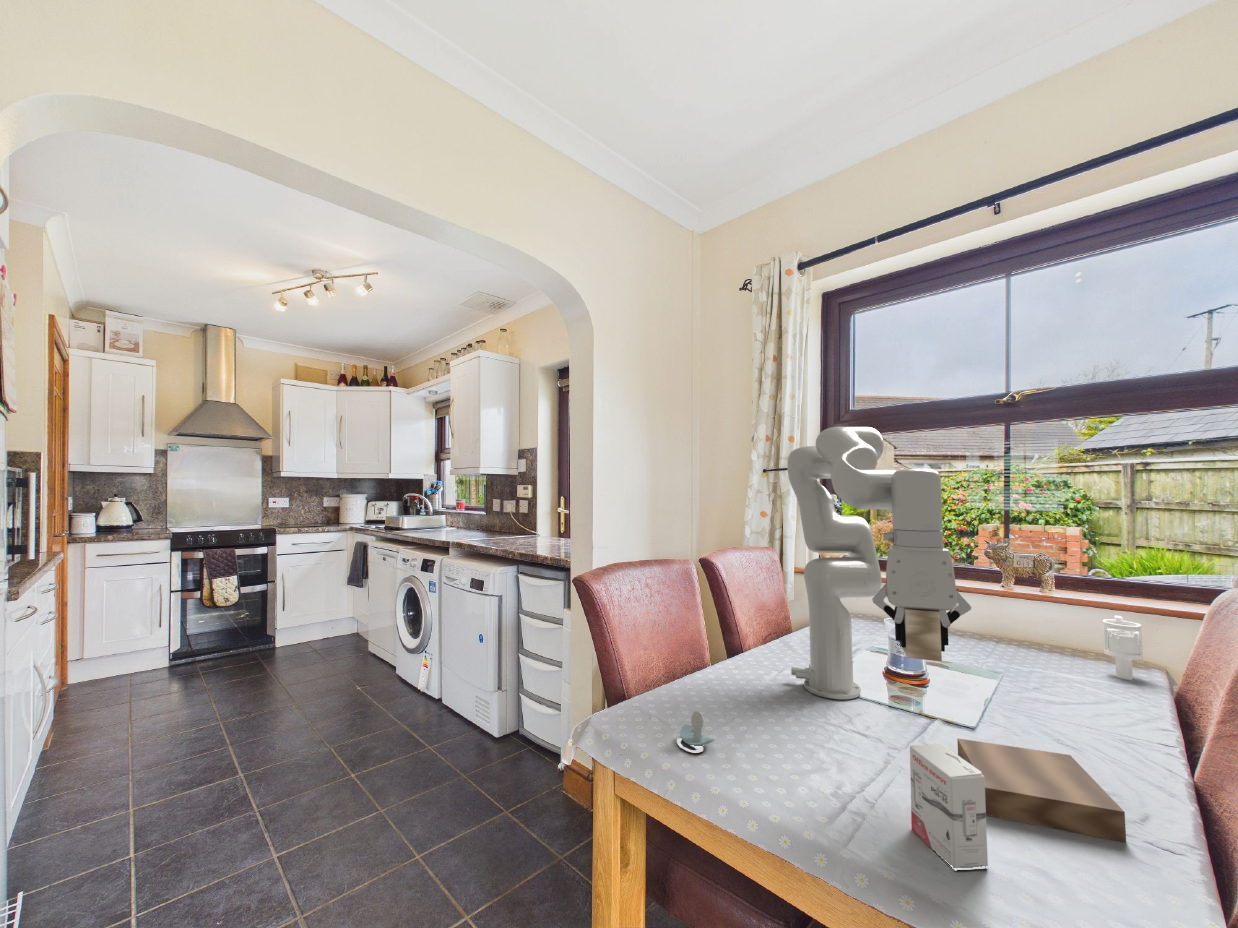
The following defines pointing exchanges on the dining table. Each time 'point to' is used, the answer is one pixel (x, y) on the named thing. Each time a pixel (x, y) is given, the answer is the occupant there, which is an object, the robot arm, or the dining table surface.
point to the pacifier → (694, 731)
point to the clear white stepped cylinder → (1123, 645)
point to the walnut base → (1043, 790)
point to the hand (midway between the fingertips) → (921, 646)
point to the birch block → (922, 634)
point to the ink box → (948, 805)
